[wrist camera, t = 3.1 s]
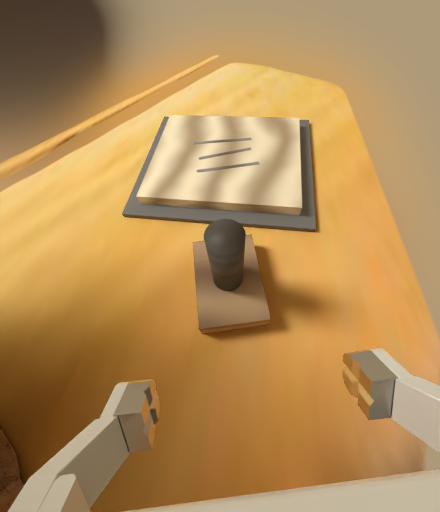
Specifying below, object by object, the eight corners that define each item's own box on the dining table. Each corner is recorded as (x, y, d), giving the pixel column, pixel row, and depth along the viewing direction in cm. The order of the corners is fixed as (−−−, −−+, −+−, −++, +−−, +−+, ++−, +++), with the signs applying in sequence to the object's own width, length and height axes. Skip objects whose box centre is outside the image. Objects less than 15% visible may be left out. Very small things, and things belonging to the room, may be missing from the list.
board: (140, 203, 33) (135, 196, 32) (172, 123, 42) (169, 114, 40) (299, 215, 30) (302, 207, 29) (297, 126, 39) (299, 117, 38)
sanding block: (267, 324, 25) (286, 290, 15) (202, 333, 25) (182, 304, 15) (250, 245, 29) (256, 182, 20) (195, 252, 29) (177, 193, 20)
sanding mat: (123, 216, 33) (122, 213, 32) (165, 120, 44) (164, 116, 43) (314, 231, 30) (315, 229, 29) (308, 123, 40) (308, 120, 40)
